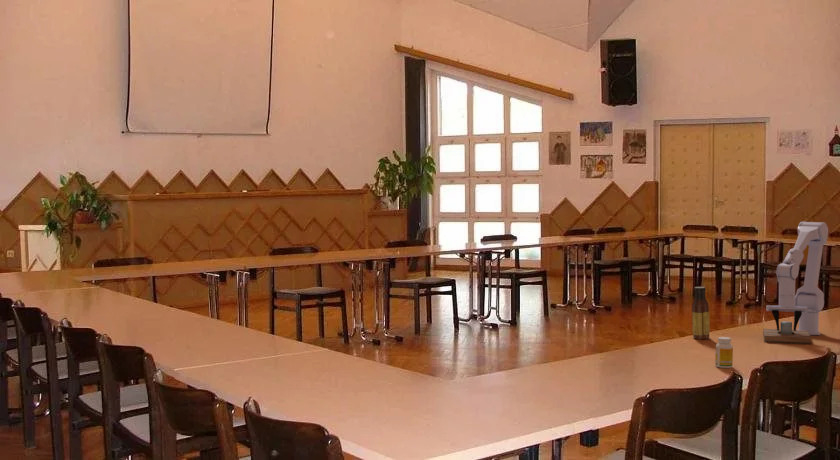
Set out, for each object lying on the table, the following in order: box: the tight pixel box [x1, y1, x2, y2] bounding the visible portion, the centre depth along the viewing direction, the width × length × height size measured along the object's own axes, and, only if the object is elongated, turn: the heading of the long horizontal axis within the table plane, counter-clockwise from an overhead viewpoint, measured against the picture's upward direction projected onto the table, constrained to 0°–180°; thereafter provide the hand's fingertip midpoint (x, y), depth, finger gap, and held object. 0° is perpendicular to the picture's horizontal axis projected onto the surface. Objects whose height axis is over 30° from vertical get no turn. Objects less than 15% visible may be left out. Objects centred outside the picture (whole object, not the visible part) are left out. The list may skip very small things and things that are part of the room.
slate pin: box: [780, 320, 793, 335], centre depth 351 cm, size 4×4×6 cm
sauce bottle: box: [691, 286, 710, 340], centre depth 355 cm, size 7×6×20 cm
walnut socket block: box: [762, 328, 812, 345], centre depth 351 cm, size 16×16×2 cm
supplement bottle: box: [714, 336, 734, 369], centre depth 303 cm, size 5×5×10 cm
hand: (786, 330), depth 351 cm, fingers open, 5 cm apart
